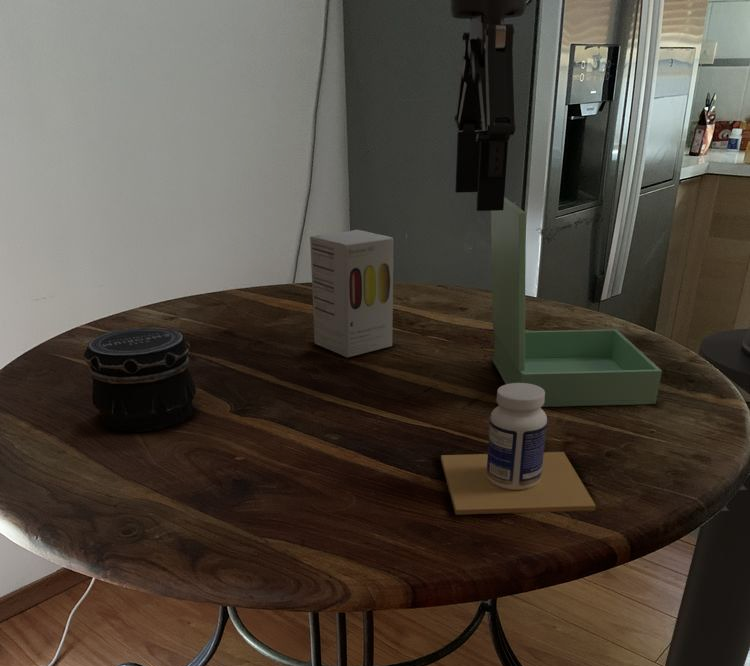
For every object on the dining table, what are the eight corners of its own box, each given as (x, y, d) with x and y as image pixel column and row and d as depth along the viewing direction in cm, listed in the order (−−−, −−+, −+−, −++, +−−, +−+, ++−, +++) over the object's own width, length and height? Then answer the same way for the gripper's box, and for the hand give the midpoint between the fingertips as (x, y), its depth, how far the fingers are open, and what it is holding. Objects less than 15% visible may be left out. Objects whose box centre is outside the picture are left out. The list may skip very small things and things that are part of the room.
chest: (611, 358, 112) (616, 329, 109) (655, 404, 96) (662, 370, 94) (493, 361, 111) (495, 331, 109) (518, 407, 96) (521, 374, 93)
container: (153, 389, 102) (141, 318, 97) (219, 409, 96) (210, 334, 91) (75, 420, 93) (57, 344, 88) (143, 444, 87) (128, 364, 82)
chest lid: (496, 190, 99) (490, 191, 99) (526, 212, 83) (519, 213, 83) (498, 328, 108) (492, 329, 108) (524, 370, 93) (518, 371, 93)
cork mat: (563, 456, 83) (563, 451, 83) (595, 510, 73) (595, 505, 73) (440, 459, 83) (440, 455, 83) (455, 515, 73) (455, 509, 72)
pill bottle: (535, 466, 80) (545, 380, 75) (544, 492, 75) (555, 401, 70) (483, 466, 80) (489, 379, 75) (488, 491, 75) (495, 401, 70)
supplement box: (347, 359, 112) (343, 244, 104) (312, 344, 119) (306, 235, 110) (394, 346, 118) (395, 236, 109) (359, 332, 124) (357, 227, 115)
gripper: (434, -17, 83) (429, 186, 93) (475, -48, 61) (463, 220, 72) (500, -18, 83) (488, 184, 94) (564, -49, 62) (539, 218, 72)
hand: (477, 200), depth 83 cm, fingers open, 13 cm apart
